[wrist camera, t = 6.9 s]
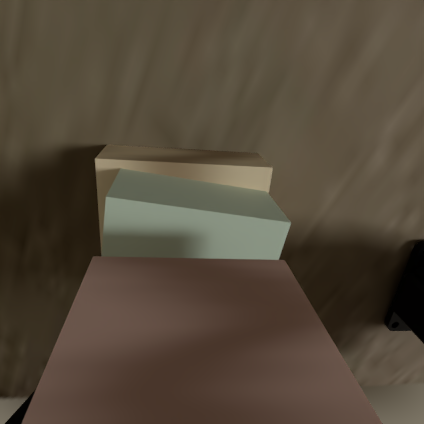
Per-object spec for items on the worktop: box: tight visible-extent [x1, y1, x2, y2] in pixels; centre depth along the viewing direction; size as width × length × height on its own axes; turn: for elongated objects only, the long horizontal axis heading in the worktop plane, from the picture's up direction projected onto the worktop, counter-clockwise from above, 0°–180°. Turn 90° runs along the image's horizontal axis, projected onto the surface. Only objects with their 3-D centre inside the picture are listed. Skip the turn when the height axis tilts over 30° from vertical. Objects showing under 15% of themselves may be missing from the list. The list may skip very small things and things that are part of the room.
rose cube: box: [22, 256, 382, 424], centre depth 7 cm, size 5×5×5 cm
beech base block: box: [95, 145, 273, 254], centre depth 15 cm, size 7×7×3 cm
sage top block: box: [101, 168, 291, 260], centre depth 12 cm, size 6×6×3 cm
